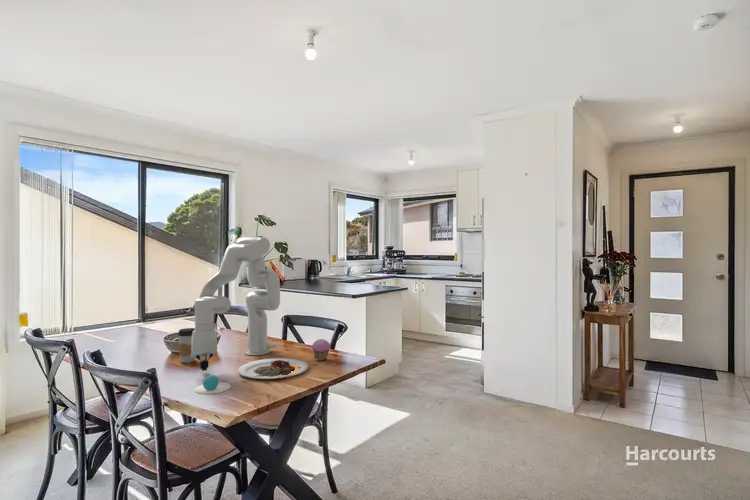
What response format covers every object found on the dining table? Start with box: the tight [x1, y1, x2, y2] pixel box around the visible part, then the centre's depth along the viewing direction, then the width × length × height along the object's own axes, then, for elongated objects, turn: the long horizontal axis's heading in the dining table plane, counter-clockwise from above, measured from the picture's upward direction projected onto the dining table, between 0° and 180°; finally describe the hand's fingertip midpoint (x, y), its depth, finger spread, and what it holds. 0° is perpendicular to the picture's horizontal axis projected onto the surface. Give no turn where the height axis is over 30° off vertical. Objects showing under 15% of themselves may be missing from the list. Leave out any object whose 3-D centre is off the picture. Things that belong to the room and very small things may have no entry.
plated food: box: [237, 357, 309, 380], centre depth 184 cm, size 30×30×3 cm
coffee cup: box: [177, 327, 196, 364], centre depth 199 cm, size 8×8×15 cm
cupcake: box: [311, 338, 331, 361], centre depth 202 cm, size 9×9×10 cm
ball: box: [202, 374, 219, 390], centre depth 159 cm, size 6×6×6 cm
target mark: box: [194, 381, 232, 395], centre depth 161 cm, size 13×13×1 cm
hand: (204, 369), depth 180 cm, fingers closed
